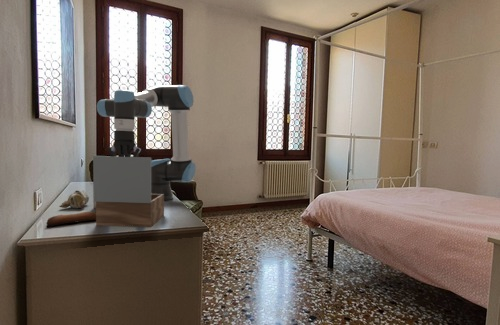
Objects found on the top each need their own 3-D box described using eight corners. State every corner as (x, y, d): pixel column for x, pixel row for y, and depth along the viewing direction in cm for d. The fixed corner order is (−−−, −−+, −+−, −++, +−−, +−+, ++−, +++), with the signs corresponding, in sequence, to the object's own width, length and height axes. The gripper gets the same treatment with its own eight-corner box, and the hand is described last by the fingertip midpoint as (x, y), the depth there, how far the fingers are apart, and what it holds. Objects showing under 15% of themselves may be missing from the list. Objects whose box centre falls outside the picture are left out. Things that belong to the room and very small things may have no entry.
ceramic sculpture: (93, 187, 157) (80, 194, 142) (94, 203, 158) (81, 212, 144) (72, 187, 156) (56, 194, 141) (73, 203, 157) (58, 212, 143)
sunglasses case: (93, 216, 133) (95, 205, 130) (96, 227, 129) (98, 216, 126) (44, 222, 122) (45, 210, 119) (46, 235, 118) (46, 223, 115)
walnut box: (116, 214, 139) (116, 192, 138) (164, 215, 139) (164, 194, 138) (96, 225, 121) (95, 200, 120) (150, 227, 121) (150, 202, 120)
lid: (94, 155, 119) (93, 156, 117) (151, 157, 118) (150, 157, 117) (95, 200, 120) (93, 201, 119) (151, 202, 120) (150, 203, 119)
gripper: (103, 129, 115) (103, 190, 117) (137, 130, 115) (137, 191, 117) (112, 130, 123) (112, 187, 125) (144, 131, 123) (144, 188, 125)
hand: (124, 189), depth 121 cm, fingers closed
